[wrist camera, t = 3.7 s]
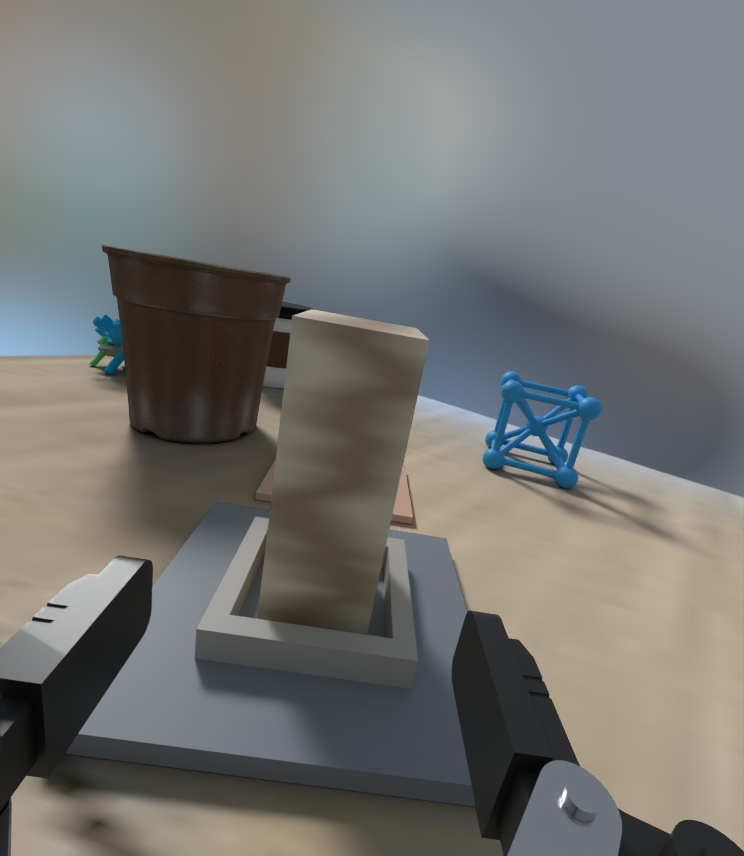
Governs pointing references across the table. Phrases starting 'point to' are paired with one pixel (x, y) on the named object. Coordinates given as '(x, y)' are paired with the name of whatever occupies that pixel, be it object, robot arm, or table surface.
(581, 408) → the molecular structure
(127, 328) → the plant pot
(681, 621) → the table surface
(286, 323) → the coffee cup
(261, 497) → the terracotta pad
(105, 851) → the table surface
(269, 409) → the table surface
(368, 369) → the maple block
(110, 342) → the gear
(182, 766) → the puzzle board
